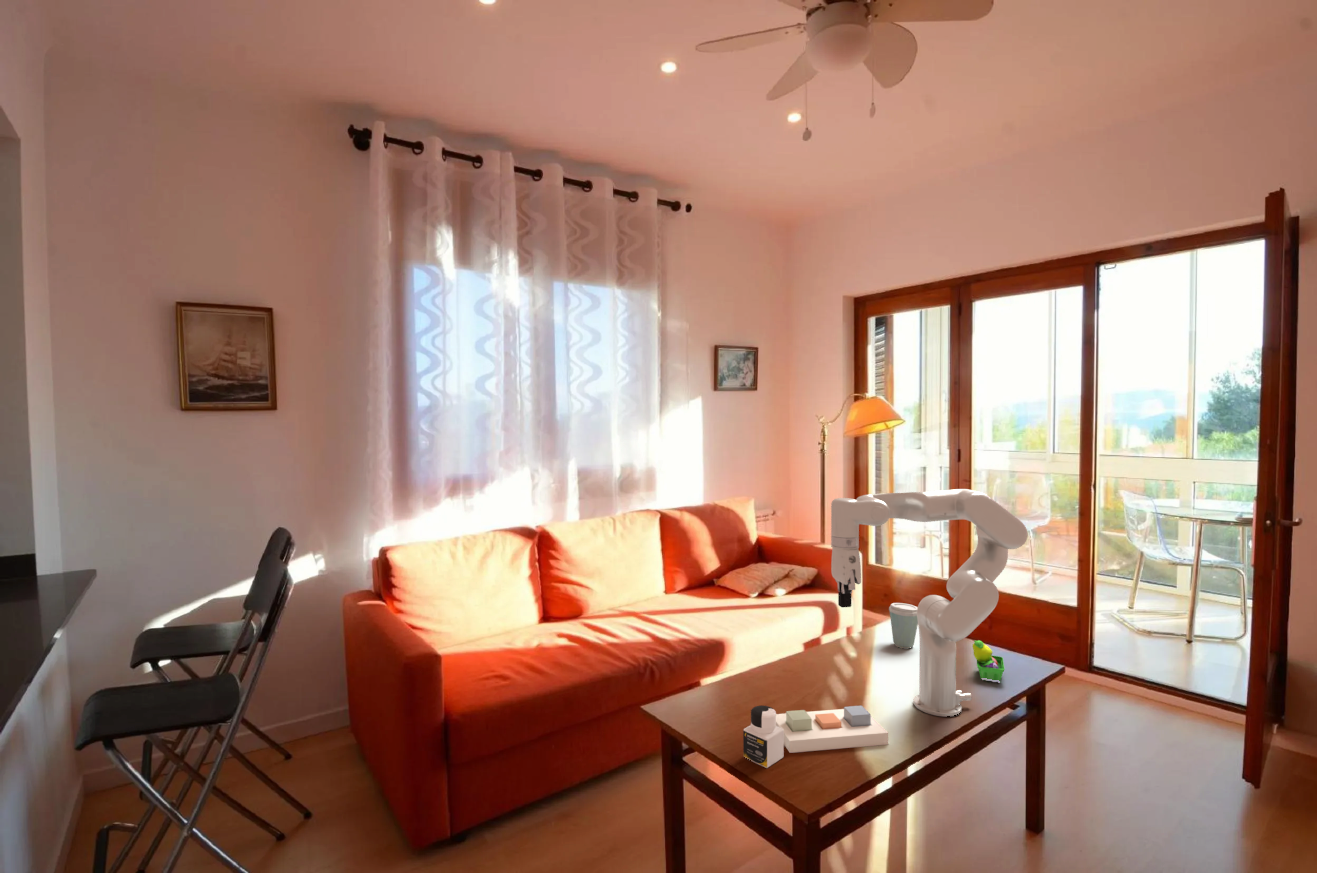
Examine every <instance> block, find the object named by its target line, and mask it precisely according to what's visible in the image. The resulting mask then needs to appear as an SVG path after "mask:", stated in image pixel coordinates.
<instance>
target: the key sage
mask: <svg viewBox="0 0 1317 873" xmlns="http://www.w3.org/2000/svg"><path fill="white" fill-rule="evenodd" d="M807 712H808V711H806V710H805V709H800V710H788V711H787V710H786V711H785V713H786V724H787V725H788V727H789V728H790V729H791V731H792V732H796V731H809V730H812V719H811V717H810V716H809V715H808V714H807Z"/></svg>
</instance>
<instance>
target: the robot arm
mask: <svg viewBox="0 0 1317 873" xmlns="http://www.w3.org/2000/svg"><path fill="white" fill-rule="evenodd" d="M830 504H831V506H830V510H831V511H830V512H831V513H830V514H831V516H830V517H831V518H830V520H831V521H830V522H831V523H830V526H831V527H830V528H831V529H830V530H831V531H830V535H831V536H830V539H831V540H830V547H831V548H832V550H831V561H830V562H831V564H830V567H831V576H832V578H833V579H834V580H835V582H836V583H837V592H838V594H837V595H838V596H837V599H838V601H837V602H838V607H841V608H851V607H852V594H853V591H855V590H856V585H860V584H861V583H862V568H861V565H862V564H861V557H860V550H859V548H860V541H859V540H860V536H859V535H860V531H859V530H860V525H864V526H870V527H871V526H872V527H880V526H882V525H885V524H886V523H887V522H888V521H889V519H900V520H907V521H911V522H917V523H919V522H920V523H928V522H929V523H931V522H939V521H940V522H941V521H942V522H943V521H956V520H966V521H968V522H971V523H972V524H973V525H975V526H976V527H975V528H976V535H977V544H976V549H975V550H974V552H973V553H972V554H971V555H970V557H969V558H967V560H966V561H965V562H963V563H962V565H961V566H960V567H959V568H958V569H957V570H956V571H955V572H953V573H952V575H951V576H950V577H949V578H948V580H947V582H946V590H947V591H946V592H948V594H949V596H950V597H951V598H952V600H951V601H950V600H949V599H947V598H945V597H944V596H941V595H937V594H929V595H926V596H925V597H923V598H922V599H921V600H920V602H919V603H918V605H917V607H918V608H917V620H918V625H917V628H918V632H919V633H918V635H919V680H918V681H919V684H918V685H919V692H918V693H919V694H917V695H916V696H914V697H913V706H915V708H916V709H918V710H919V711H921V712H924V713H925V714H929V715H931V716H935V717H943V718H944V717H947V716H950V717H955V716H954V715H956V716H958V715H960V714H961V713H962V712H963V710H962V709H963V706H962V705H961V702H963V701H966V702H967V701H972V700H973V696H972V694H971V693H970V692H965V693H963V691H962V690H956V689H957V643H956V642H959V641H961V640H964V639H965V638H967V637H968V636H969V635H971V634H972V632H974V630H975V629H977V627H979V626H980V624H982V622H984V621H985V620H986V619H987V618H988V617H989V615H991V613H993V611H994V610H995V608H996V607H997V605H998V602H999V598H1000V597H999V596H1000V593H999V589H998V588H997V586H996V584H995V583H994V582H995V580H996V579H997V578H998V577H999V576H1000V574H1002V572H1003V571H1004V570H1005V568H1006V565H1007V563H1008V557H1009V550H1016V549H1019V548H1021V547H1023V546H1024V545H1025V544H1026V542H1027V540H1028V535H1029V534H1028V529H1027V527H1026V525H1025V524H1024V523H1023V521H1021V520H1020V519H1019V518H1018V517H1017V516H1015V515H1014V514H1012V513H1011V512H1010V511H1009V510H1008V509H1006V508H1004V506H1002V505H1001V504H999V503H998V502H997V501H996V500H994V499H993V498H992V497H990V496H989V495H988V494H986V493H984V492H981V491H977V490H973V489H968V488H955V489H953V488H952V489H942V490H941V489H939V490H932V491H931V490H930V491H929V490H927V491H908V492H889V493H888V492H885V493H871V494H863V495H860V496H858V497H857V498H856V499H854V498H848V497H839V498H834V499H833V500H832V501H831V503H830ZM960 712H961V713H960ZM959 713H960V714H959ZM957 714H958V715H957Z"/></svg>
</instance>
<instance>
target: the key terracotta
mask: <svg viewBox="0 0 1317 873" xmlns="http://www.w3.org/2000/svg"><path fill="white" fill-rule="evenodd" d="M815 721H816V722H817V724H818V725H819V726H820V727H821V729H833V728H841V721H840V720H839V719H838V718H837V717H836V716H835V714H834V713H828V714H815Z"/></svg>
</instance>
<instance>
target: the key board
mask: <svg viewBox="0 0 1317 873" xmlns="http://www.w3.org/2000/svg"><path fill="white" fill-rule="evenodd" d="M806 712H807V714H808V715H809V716H810V717H811V719H812V730H809V731H796V732H792V731H791V729H790V728H789V727H788V725H787V724H786V712H785V713H776V726H777V727H780V728H782V729H783V730H784V748H786V749H787V751H788V752H789V753H793V754H794V753H804V752H814V751H827V750H839V749H848V748H849V749H851V748H860V747H861V748H862V747H873V746H885V745H889V731H887V730H886V729H885V727H883V726H882V725H881V724H880V723H879V722H878V721H877V720H876V719H875V718H874V717H873V716H872V715H871V725H870V726H858V727H851V726H850V725H849V723H848V722H847V721H846V720H845V719H844V708H839V709H827V710H813V711H812V710H811V711H806ZM828 713H834V714H835V716H836V717H837V718H838V719H839V720H840V721H841V728H833V729H821V727H820V726H819V725H818V724H817V722H816V721H815V714H828Z"/></svg>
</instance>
